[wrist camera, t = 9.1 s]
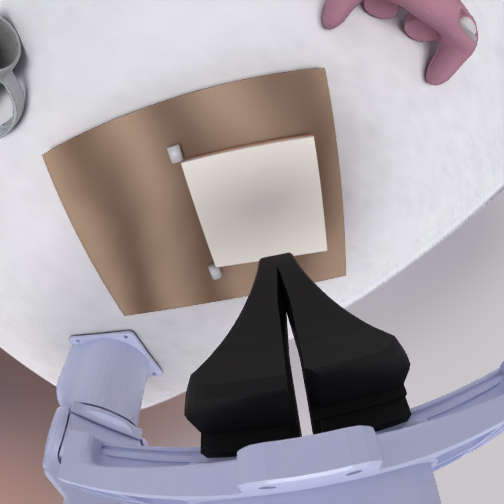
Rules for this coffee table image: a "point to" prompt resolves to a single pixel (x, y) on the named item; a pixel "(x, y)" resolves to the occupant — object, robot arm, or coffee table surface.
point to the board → (177, 191)
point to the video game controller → (422, 28)
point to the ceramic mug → (10, 72)
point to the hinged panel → (257, 200)
